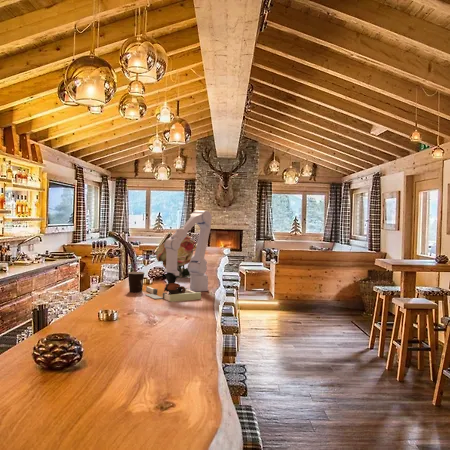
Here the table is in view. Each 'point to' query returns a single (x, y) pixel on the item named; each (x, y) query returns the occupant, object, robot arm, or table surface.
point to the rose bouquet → (179, 255)
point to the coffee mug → (135, 281)
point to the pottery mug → (174, 288)
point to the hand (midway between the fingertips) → (171, 287)
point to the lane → (174, 295)
